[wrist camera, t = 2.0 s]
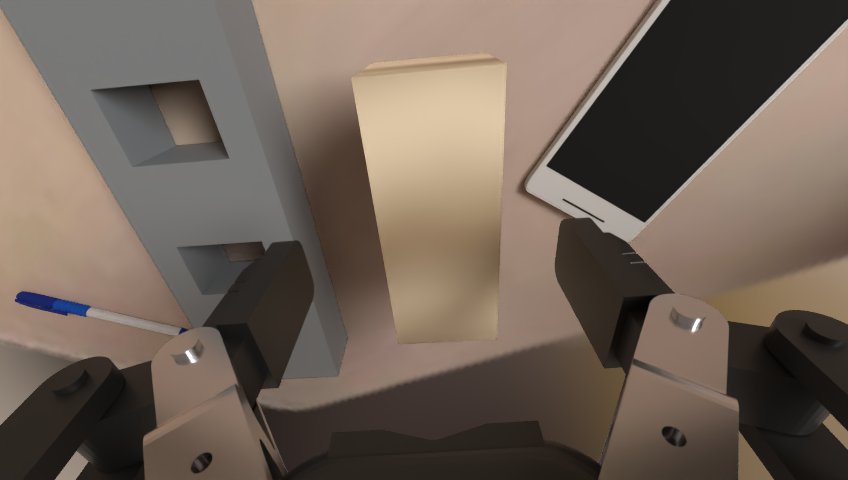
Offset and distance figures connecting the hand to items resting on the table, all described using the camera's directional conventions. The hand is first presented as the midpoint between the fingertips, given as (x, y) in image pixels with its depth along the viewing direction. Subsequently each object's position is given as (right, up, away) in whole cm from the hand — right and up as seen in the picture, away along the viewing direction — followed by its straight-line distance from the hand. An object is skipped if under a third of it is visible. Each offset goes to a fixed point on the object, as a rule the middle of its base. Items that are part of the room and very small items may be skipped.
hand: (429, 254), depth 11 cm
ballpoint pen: (-21, -4, +13) cm, 25 cm away
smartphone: (+12, +8, +5) cm, 15 cm away
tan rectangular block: (0, +4, +7) cm, 8 cm away
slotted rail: (-10, +4, +7) cm, 13 cm away
